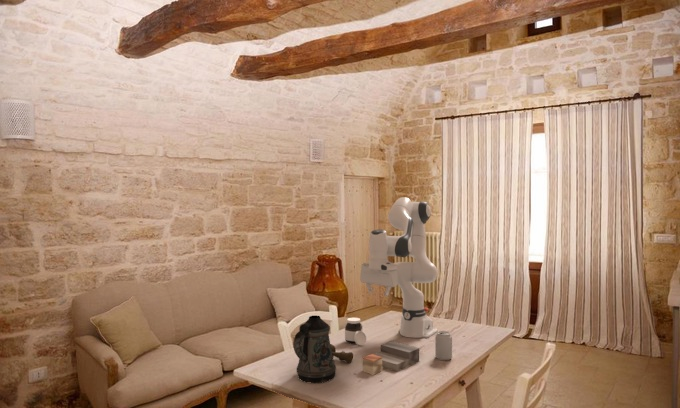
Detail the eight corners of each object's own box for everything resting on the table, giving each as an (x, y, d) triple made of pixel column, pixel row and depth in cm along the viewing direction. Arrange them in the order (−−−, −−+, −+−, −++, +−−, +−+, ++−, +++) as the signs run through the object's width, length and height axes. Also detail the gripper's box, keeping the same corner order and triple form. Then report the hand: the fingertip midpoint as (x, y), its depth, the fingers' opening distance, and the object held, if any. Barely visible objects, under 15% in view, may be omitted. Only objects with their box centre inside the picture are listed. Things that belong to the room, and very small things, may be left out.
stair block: (391, 353, 227) (391, 340, 227) (419, 361, 216) (419, 348, 216) (368, 362, 215) (368, 349, 215) (396, 371, 204) (396, 357, 204)
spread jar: (351, 338, 252) (351, 316, 251) (371, 340, 247) (370, 318, 246) (341, 344, 241) (341, 321, 241) (361, 347, 236) (361, 324, 236)
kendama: (345, 367, 210) (308, 358, 221) (356, 361, 218) (320, 353, 229) (346, 354, 210) (308, 345, 220) (356, 348, 218) (320, 340, 229)
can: (441, 354, 225) (441, 329, 225) (455, 358, 220) (455, 332, 220) (432, 358, 220) (432, 332, 220) (446, 362, 215) (446, 335, 214)
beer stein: (340, 370, 205) (339, 312, 205) (328, 388, 187) (328, 324, 186) (303, 367, 209) (303, 310, 209) (288, 384, 190) (288, 322, 190)
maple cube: (362, 357, 204) (362, 371, 205) (373, 360, 200) (373, 374, 200) (371, 354, 209) (371, 367, 209) (382, 357, 205) (382, 371, 205)
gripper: (357, 263, 227) (357, 292, 228) (391, 267, 213) (391, 298, 214) (365, 261, 232) (365, 290, 232) (399, 266, 218) (399, 296, 218)
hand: (378, 294), depth 223 cm, fingers open, 8 cm apart
